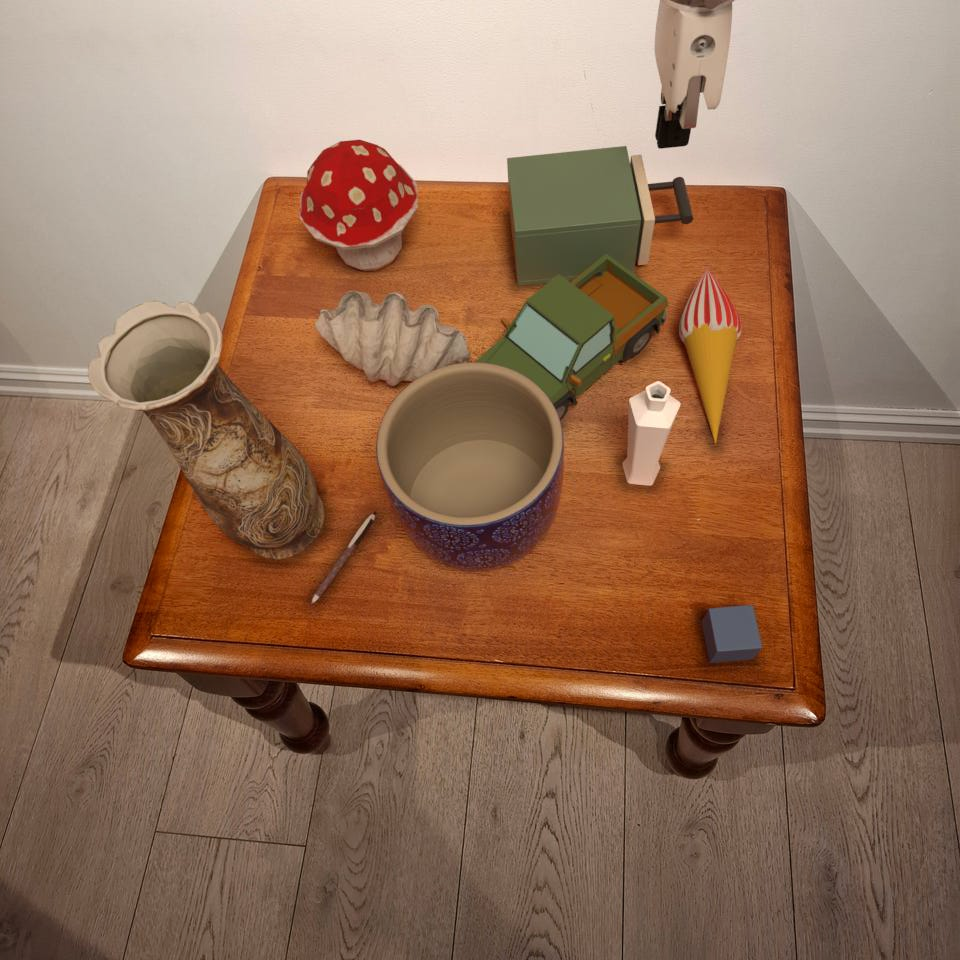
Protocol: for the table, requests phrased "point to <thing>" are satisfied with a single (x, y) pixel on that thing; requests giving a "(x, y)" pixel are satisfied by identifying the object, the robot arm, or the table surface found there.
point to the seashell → (391, 337)
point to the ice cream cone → (710, 343)
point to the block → (731, 633)
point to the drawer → (647, 209)
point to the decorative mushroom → (358, 203)
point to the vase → (210, 427)
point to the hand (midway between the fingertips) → (671, 141)
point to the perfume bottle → (648, 432)
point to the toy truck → (579, 330)
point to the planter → (473, 464)
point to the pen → (344, 556)
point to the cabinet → (571, 212)
